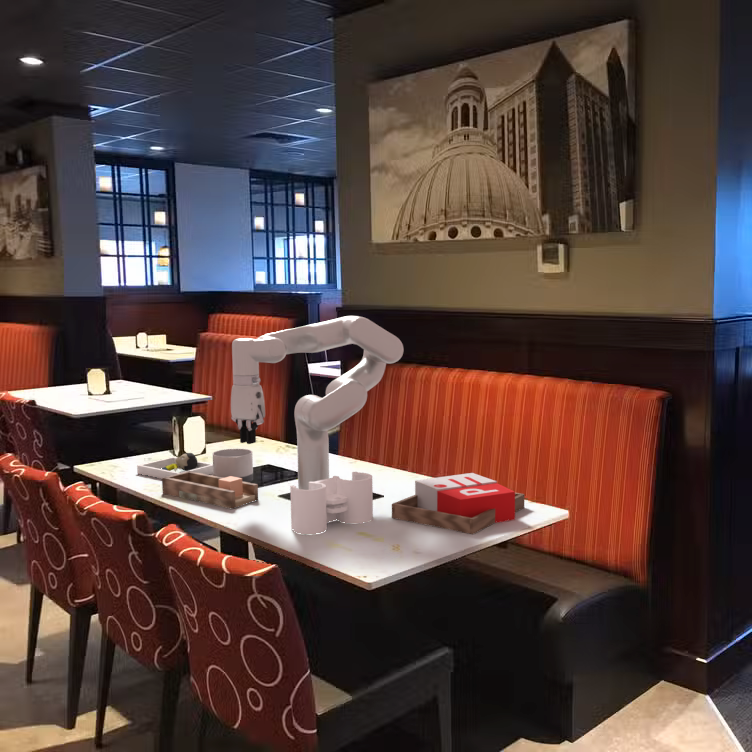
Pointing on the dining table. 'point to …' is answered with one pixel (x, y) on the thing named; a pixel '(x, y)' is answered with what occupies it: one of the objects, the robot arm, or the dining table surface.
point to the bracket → (331, 503)
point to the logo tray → (447, 516)
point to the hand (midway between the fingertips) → (248, 442)
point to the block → (232, 484)
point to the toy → (183, 463)
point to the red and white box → (466, 496)
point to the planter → (233, 464)
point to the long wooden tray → (207, 489)
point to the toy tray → (156, 471)
